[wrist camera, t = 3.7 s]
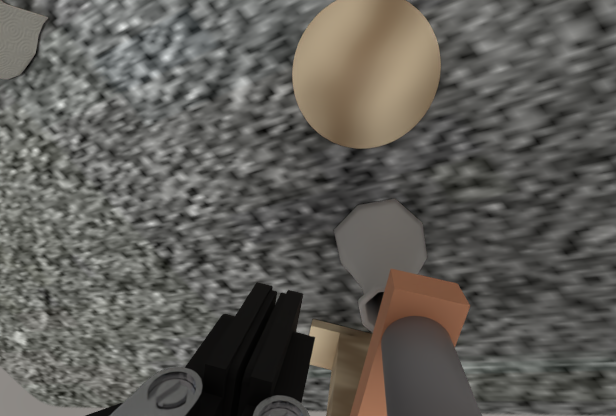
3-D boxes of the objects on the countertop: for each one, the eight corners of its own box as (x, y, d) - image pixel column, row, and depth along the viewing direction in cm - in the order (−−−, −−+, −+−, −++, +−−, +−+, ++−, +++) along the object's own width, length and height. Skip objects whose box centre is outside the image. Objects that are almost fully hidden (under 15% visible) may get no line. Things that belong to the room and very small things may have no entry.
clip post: (402, 341, 28) (434, 517, 16) (391, 377, 29) (412, 567, 17) (312, 318, 29) (276, 469, 17) (305, 354, 30) (266, 520, 18)
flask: (361, 295, 28) (361, 388, 18) (318, 224, 27) (295, 284, 17) (442, 260, 26) (490, 344, 16) (400, 181, 25) (424, 222, 15)
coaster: (457, 7, 21) (460, 3, 20) (415, 159, 24) (417, 160, 23) (307, -15, 22) (305, -19, 21) (285, 134, 25) (282, 134, 24)
